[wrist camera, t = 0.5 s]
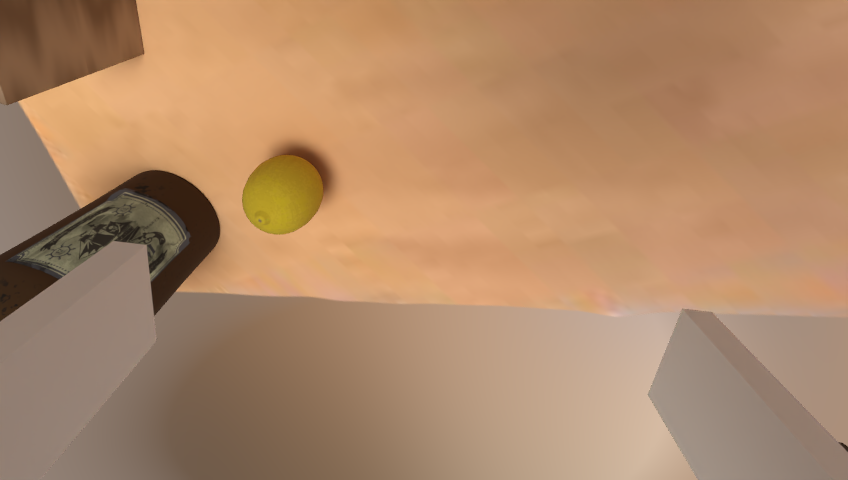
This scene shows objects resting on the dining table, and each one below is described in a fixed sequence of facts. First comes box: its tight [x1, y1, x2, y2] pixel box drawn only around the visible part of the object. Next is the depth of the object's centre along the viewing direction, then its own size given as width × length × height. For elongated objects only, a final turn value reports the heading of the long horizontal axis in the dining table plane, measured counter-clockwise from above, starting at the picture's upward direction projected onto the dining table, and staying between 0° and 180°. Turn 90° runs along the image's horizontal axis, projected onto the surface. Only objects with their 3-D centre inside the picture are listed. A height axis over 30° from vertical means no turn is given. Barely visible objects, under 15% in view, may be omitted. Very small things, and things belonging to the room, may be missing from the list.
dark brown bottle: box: [0, 171, 219, 321], centre depth 37 cm, size 11×11×25 cm
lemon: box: [242, 155, 323, 234], centre depth 38 cm, size 6×6×8 cm
